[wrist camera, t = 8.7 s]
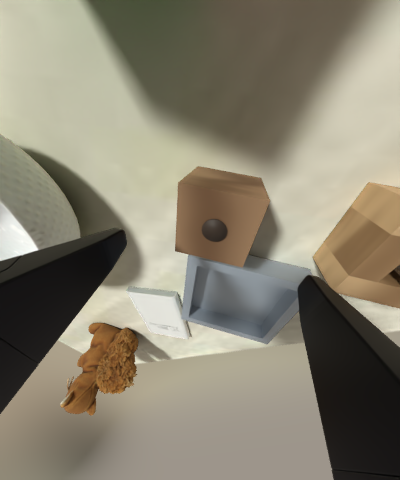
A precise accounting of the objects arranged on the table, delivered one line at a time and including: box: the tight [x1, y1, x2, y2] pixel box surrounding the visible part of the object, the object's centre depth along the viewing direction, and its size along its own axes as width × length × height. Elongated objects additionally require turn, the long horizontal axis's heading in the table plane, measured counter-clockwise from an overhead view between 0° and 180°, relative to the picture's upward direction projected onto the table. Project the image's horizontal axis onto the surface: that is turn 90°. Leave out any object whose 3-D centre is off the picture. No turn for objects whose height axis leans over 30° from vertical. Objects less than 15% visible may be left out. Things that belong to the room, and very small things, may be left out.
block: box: [175, 166, 270, 268], centre depth 12 cm, size 5×5×5 cm
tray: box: [181, 255, 312, 344], centre depth 19 cm, size 12×12×2 cm
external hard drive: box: [126, 287, 190, 339], centre depth 27 cm, size 2×8×12 cm
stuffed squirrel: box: [60, 323, 138, 415], centre depth 31 cm, size 10×14×13 cm
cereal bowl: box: [0, 134, 81, 261], centre depth 15 cm, size 17×17×7 cm
